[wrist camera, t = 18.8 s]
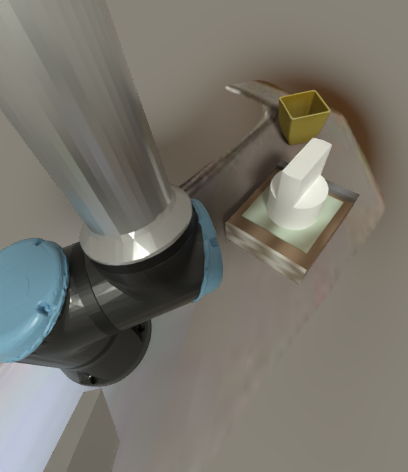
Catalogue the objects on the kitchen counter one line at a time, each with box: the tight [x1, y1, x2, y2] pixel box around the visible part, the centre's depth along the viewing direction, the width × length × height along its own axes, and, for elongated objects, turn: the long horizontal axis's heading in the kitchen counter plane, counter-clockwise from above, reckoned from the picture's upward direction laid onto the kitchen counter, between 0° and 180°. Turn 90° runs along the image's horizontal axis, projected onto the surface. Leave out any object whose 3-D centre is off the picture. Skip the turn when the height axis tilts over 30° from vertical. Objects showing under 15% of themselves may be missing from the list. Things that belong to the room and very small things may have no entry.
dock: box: [225, 160, 359, 284], centre depth 48 cm, size 16×19×6 cm
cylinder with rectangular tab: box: [267, 138, 332, 230], centre depth 41 cm, size 9×9×12 cm
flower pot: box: [279, 90, 331, 145], centre depth 60 cm, size 9×9×9 cm
